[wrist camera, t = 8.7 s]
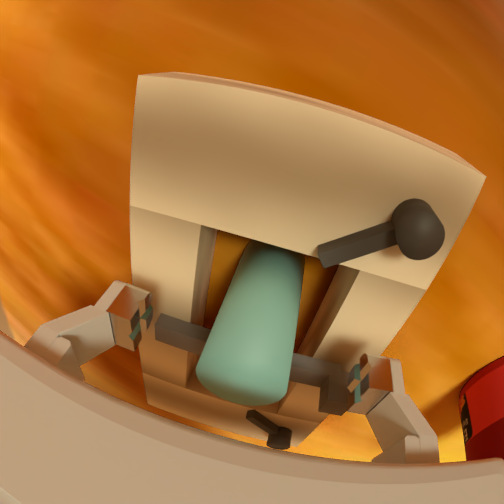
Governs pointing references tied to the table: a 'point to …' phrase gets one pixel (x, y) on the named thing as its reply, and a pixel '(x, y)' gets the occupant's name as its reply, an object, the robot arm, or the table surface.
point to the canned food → (484, 413)
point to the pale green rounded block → (255, 328)
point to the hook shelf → (282, 232)
